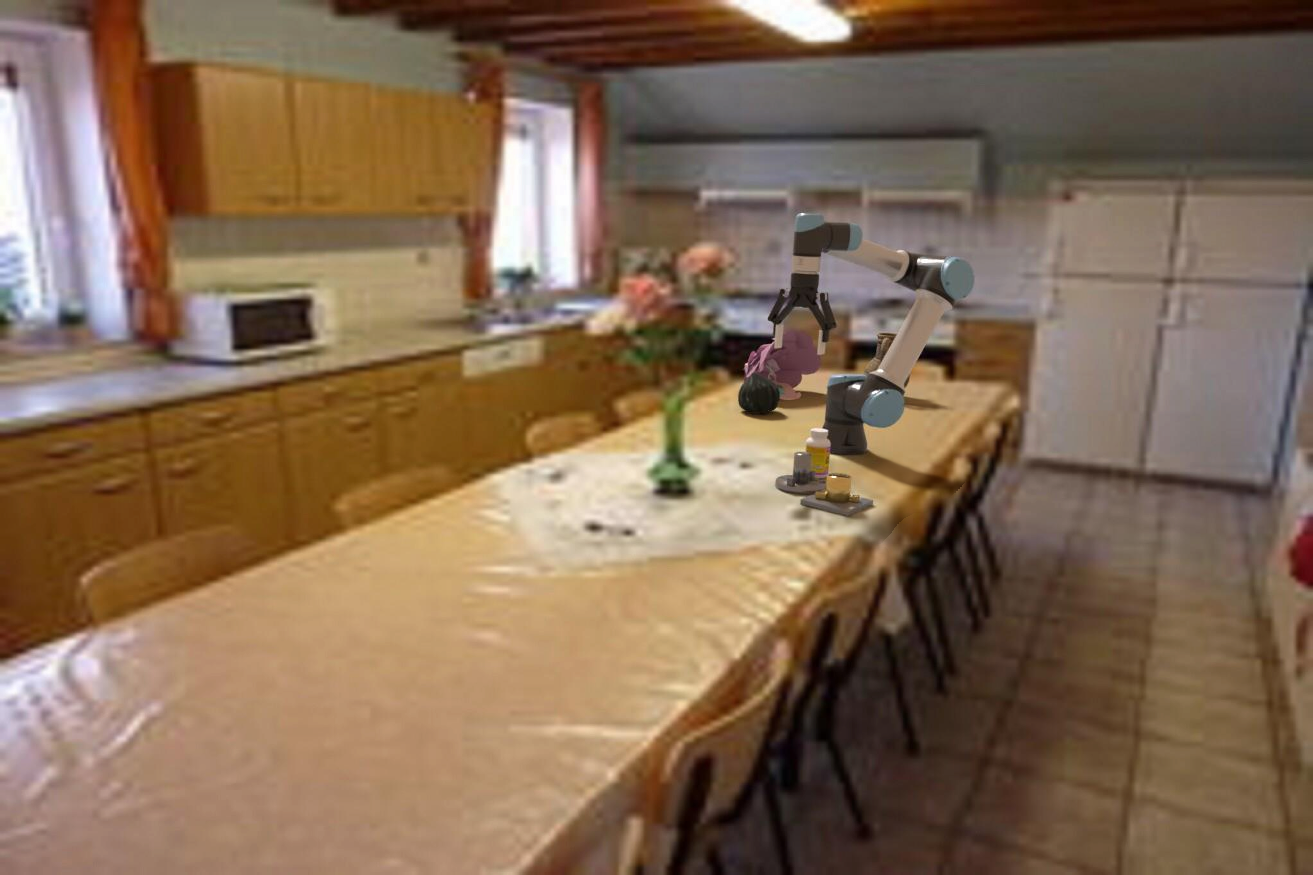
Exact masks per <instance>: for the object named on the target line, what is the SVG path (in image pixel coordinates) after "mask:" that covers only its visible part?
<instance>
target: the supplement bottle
mask: <svg viewBox="0 0 1313 875" xmlns="http://www.w3.org/2000/svg"><path fill="white" fill-rule="evenodd" d="M809 433H810V437H808V438H807V439H806V440H805V451H804V452H807V453H810V454H812V457H811V469H810V470H813V471H815V478H818V479H825V478H827V474H829V466H830V457H831V456H830V455H831V453H830V446H831V443H830V441H829V440H828V439H827V435H828V430H826V429H822V427H819V428H818V427H814V428H811V429H810V432H809Z"/></svg>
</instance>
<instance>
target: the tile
mask: <svg viewBox="0 0 1313 875" xmlns="http://www.w3.org/2000/svg"><path fill="white" fill-rule="evenodd" d="M820 492H825V490H823V491H820ZM815 494H816V493H815ZM815 494H813V495H807V496H805V497H803V498H800V505H803V506H807V507H811V508H814V509H818V510H823V511H826V512H830V513H833V514H836V515H841V516H846V517H849V516H851V515H854V514H856V513H858V512H860V511H862V509H863V510H865V509H867V508H869V507H871V506H873V505H874V499H869V498H866V497H862V496H859V497H860V498H859V502H853V501H849V502H848V503H832V502H828V501H826V500H825V499H820V498H815ZM868 506H869V507H868ZM866 507H867V508H866ZM864 508H865V509H864Z"/></svg>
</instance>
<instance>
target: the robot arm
mask: <svg viewBox="0 0 1313 875" xmlns="http://www.w3.org/2000/svg"><path fill="white" fill-rule="evenodd" d="M792 245H793V246H792V247H793V248H792V258H791V259H792V261H791V262H792V263H791V271H793V272H791V274H790V283H789V285H790V289H789V288H780V289H779V294H778V298H777V299H776V301H775V303H774V305H773V307H772V309H771V311H770V313H769V315H768V317H767V321H768V322H771V323H772V324H773V325H772V326H773V327H772V335H773V336H774V338H775V340H774V341H775V344H774V348H782V337H783V333H784V324H783V322H784V320H785V319H786V318H787V317H788V315H789V314H791V312H792V311H793V310H794V308H803V309H804V308H805V309H808V310H809V311H810V312H811V313H812V315H813V317H814V318H815V319H816V321H817V323H818V325H819V327H820V328H821V329H819V330H818V340H817V342H818V343H817V350H818V351H817V355H820V356H821V355H825V353H826V343H828V342H829V340H830V339H829V338H830V331H831V330H833V329H836V328H837V327H838V326H837V325H838V324H837V323H836V319H835V317H834V314H833V310H832V308H831V305H830V301H829V293H828V292H825V291H824V292H820V293H819V291H818V290H819V286H820V285H819V282H820V275H819V272H820V271H821V260H822V259H821V258H822V253H824V254H827V255H829V256H832V257H835V258H838V259H840V260H843V261H845V262H847V263H851V264H853V265H856V266H859V267H862V268H864V269H866V270H869V271H873V272H875V273H879V274H881V275H883V276H886V278H887V280H888V281H890V282H892V283H895V284H898V285H899V286H902V287H904V288H906V289H909V290H910V291H913V292H914V293H915V297H916V299H915V302H914V303H913V305H912V307H911V309H910V310H909V312H908V314H907V316H906V317H905V320H904V321H903V323H902V325H901V327H900V328H899V330H898V332H897V333H896V334H897V335H896V337H895V339H894V341H893V342H892V344H891V346H890V348H889V350H888V351H887V353H886V355H885V357H884V359H883V360H882V362H881V364H880V366H879V367H878V369H877V370H876V371H873V372H870V373H869V375H868V376H867V375H864V374H861V373H860V374H859V373H856V374H855V373H854V374H853V373H844V374H843V373H841V374H839V373H837V374H831V375H830V376H829V378H828V381H827V386H826V389H827V390H826V403H825V412H824V413H825V416H824V423H823V425H822V427H821V429H826V430H828V435H827V439H828V440H829V441H830V443H831V446H830V454H838V455H861V454H865V453H867V451H868V441H867V436H866V432H865V428H864V425H867V426H869V427H872V428H873V427H874V428H879V429H886V428H888V427H889V428H890V427H892V426H893V425H895V424H896V423H897V422H899V420H900V419H901V417H902V416H903V414H904V411H905V407H906V406H905V402H906V401H905V397H904V396H905V393H906V388H904V383H905V381H906V379H907V377H908V375H909V374H911V372H912V370H913V368H914V366H915V365H916V363H917V361H918V359H919V357H920V355H921V354H922V352H923V350H924V348H925V347H926V345H927V343H928V341H929V339H930V338H931V336H932V335H933V332H934V331H935V329H936V327H937V325H938V323H939V322H940V320H941V318H942V316H943V315H944V313H946V312H949V311H951V310H952V309H953V308H954V306H955V305H956V303H957V301H959V300H964V299H965V298H967V297H968V296H969V295H970V294H971V293H972V291H973V288H974V285H975V274H974V269H973V266H972V265H971V264H970V263H969V261H968V260H966V259H965V258H962V257H958V256H953V255H950V256H949V255H935V254H930V253H929V254H927V253H915V252H908V251H906V250H903V249H898V250H893V249H891V248H888V247H885V246H883V245H881V244H878V243H875V242H873V241H871V240H868V239H864V238H863V231H862V228H861V226H860V225H859V224H857V223H853V222H850V221H848V222H841V221H840V222H838V221H837V222H836V221H825V216H824V214H821V213H805V212H803V213H798V214H797V215H796V217H795V222H794V229H793V244H792ZM788 297H790V300H788ZM817 299H818V301H819V303H820V306H821V309H820V306H819V304H818V303H817ZM786 300H788V302H787V303H786ZM785 303H786V305H785V307H784V308H783V306H784V304H785ZM821 310H822V311H821Z"/></svg>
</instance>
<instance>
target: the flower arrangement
mask: <svg viewBox="0 0 1313 875" xmlns="http://www.w3.org/2000/svg"><path fill="white" fill-rule="evenodd" d="M772 340H773V341H772V343H768V344H762V345H760V346H759V347H758V349H757V350H756V351H755V350H753V351H751V353H750V354H749V358H748V361H747V363H745V364H744V368H743V369H742V371H743V370H744V378H743V383H744V382H745V381H746V380H747V379H748V377H749V376H750V375H751V374H752V373H753V372H754V373H758V374H761V375H763V376H764V377H766V378H768V379H770V380H771V381H772V382H774V383H775V384H776V385H777V387H778V389H779V392H780V400H785V401H791V400H797V399H800V398H801V396H802V394H801V392H799V391H798V392H796V389H794V388H797V387H798V386H799V385H800V384H801V382H802V380H803V375H804V376H809V375H813V374H816V373H817V371H819V369H820V368H821V365H822V356H821V355H817V351H818V348H816V347H815V346H814V341H813V338H812V337H811V335H810V334H808V333H807V332H804V331H803V332H802V331H797V330H796V329H789V330H787V331H784V332H783V337H782V348H774V344H775V337H773V338H772Z"/></svg>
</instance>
